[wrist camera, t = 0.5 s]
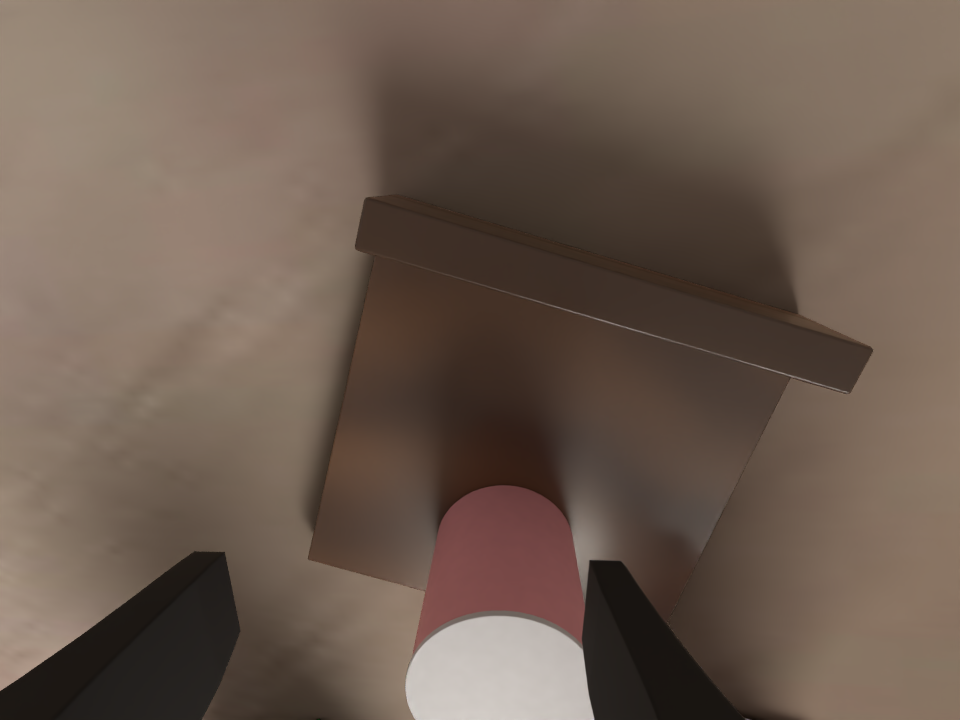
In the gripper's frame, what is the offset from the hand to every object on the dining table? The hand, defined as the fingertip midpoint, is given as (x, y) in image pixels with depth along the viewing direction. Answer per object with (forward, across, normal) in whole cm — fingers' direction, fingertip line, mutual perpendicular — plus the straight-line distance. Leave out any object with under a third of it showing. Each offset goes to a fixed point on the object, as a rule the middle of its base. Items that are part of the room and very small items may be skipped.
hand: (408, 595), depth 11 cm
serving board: (+11, -3, +2) cm, 11 cm away
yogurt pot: (+9, -2, +6) cm, 11 cm away
